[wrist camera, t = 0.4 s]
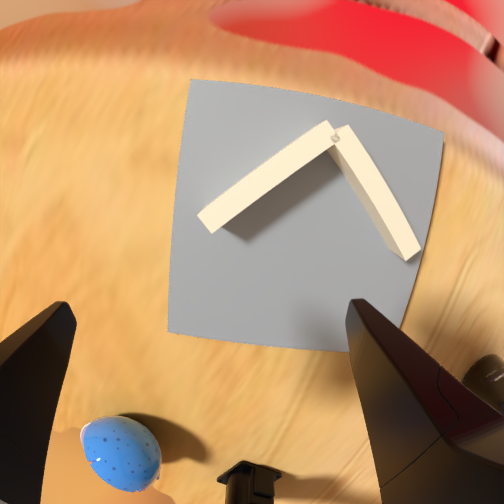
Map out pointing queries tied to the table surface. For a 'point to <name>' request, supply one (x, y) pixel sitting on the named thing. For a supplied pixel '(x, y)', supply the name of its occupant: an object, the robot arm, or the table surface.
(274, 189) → the v cradle
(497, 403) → the supplement bottle
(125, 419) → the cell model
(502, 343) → the table surface
